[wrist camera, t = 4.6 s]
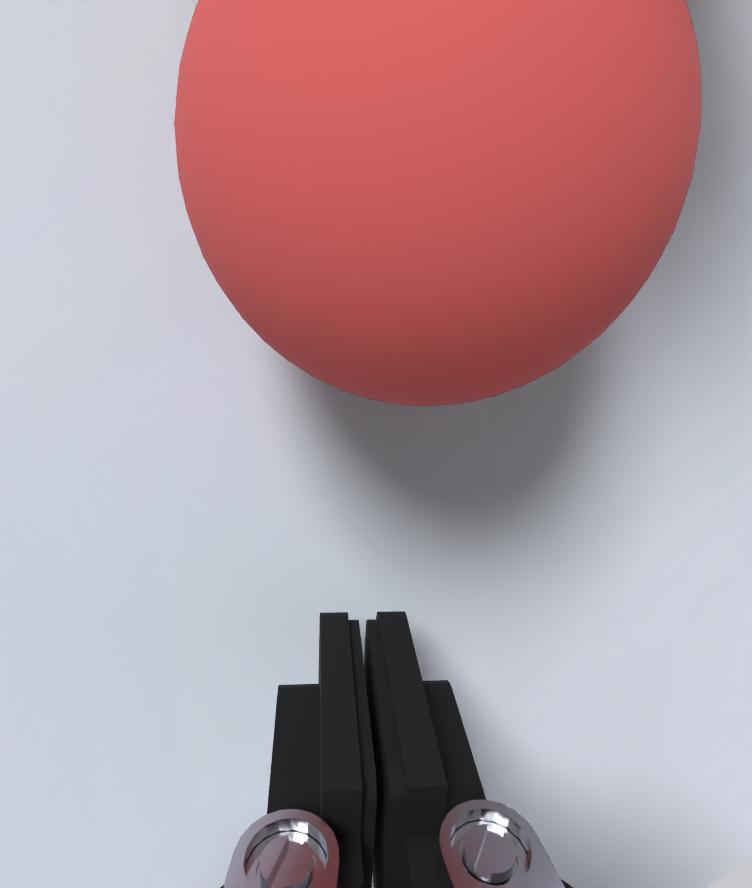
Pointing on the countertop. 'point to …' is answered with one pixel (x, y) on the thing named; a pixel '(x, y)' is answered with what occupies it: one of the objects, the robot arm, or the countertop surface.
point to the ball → (435, 178)
